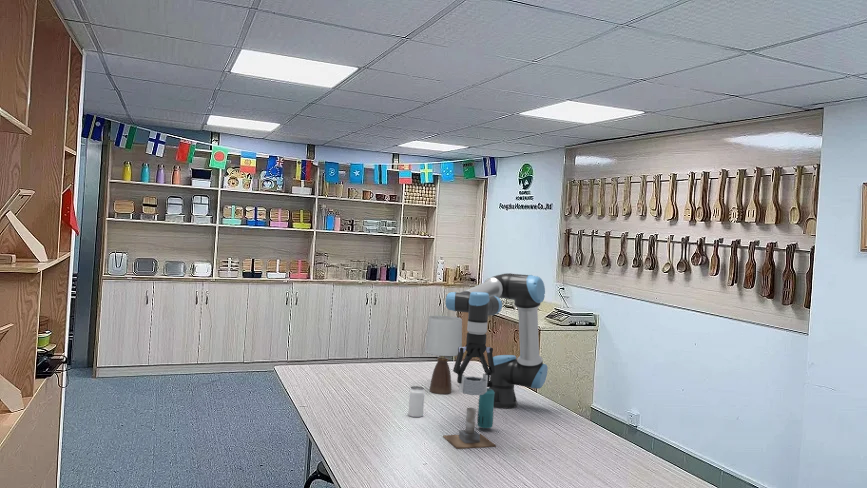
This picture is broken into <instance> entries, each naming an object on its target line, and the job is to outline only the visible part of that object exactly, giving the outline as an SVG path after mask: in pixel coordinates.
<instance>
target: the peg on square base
mask: <svg viewBox="0 0 867 488" xmlns="http://www.w3.org/2000/svg"><path fill="white" fill-rule="evenodd" d="M476 412H477V409H476V408H474V407H467V408H466V415H465V428H464V429H463V430H459V433H458V434H448V435H447V434H446V435H442V438H443V439H444V440H445V441H447V442H448V443H449V444H451V445H452V447H454V448H455V449H456V450H460V449H461V450H463V449H481V448H482V449H483V448H496V447H497V445H496V444H495V443H494V442H492V440H490V439H488V438H487V437H486V436H484V435H483V434H481V433H479V432H478V431H476V430H475V425H476Z"/></svg>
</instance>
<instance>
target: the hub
mask: <svg viewBox="0 0 867 488" xmlns="http://www.w3.org/2000/svg"><path fill="white" fill-rule="evenodd" d="M485 392H486V380H485V379H483V377H478V376H464V389H463V393H462V394H464V395H469V396H479V395H483V394H485Z"/></svg>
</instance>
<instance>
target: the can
mask: <svg viewBox="0 0 867 488" xmlns="http://www.w3.org/2000/svg"><path fill="white" fill-rule="evenodd" d="M408 397H409V398H408V409H407V410H408V411H407V415H408V416H409V417H411V418H421V417H423V416H424V406H425V405H424V404H425V389H424V387H423V386H418V385H414V386H410V389H409V393H408Z"/></svg>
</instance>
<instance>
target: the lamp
mask: <svg viewBox="0 0 867 488" xmlns="http://www.w3.org/2000/svg"><path fill="white" fill-rule="evenodd" d="M462 323H463V319H462V318H461V317H457V316H449V315H430V316H428V323H427V329H426V338H425V345H424V353H426V354H429V355H433V356H437V358H436V361H437V362H436V364H435V365H434V366H435V367H434V368H433V372H432V376H431V379H430V383H429V385H430V386H429V392H431V393H433V394H436V395H437V394H439V395H449V394H451V393H452V390H453V389H452V388H453V387H452V376H451V369H450V365H449V363H448V361H449V358H448V357H457V355H458V347H463V324H462ZM438 356H439V357H438Z"/></svg>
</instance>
